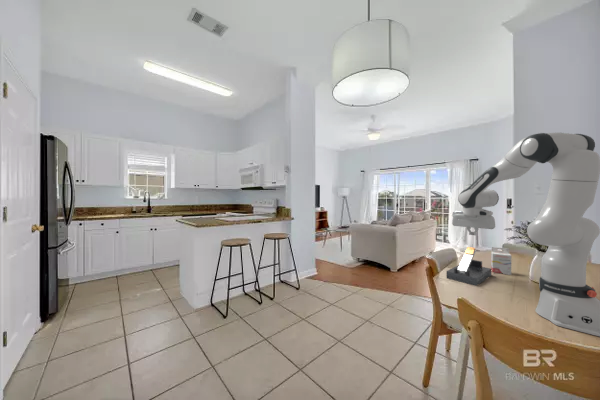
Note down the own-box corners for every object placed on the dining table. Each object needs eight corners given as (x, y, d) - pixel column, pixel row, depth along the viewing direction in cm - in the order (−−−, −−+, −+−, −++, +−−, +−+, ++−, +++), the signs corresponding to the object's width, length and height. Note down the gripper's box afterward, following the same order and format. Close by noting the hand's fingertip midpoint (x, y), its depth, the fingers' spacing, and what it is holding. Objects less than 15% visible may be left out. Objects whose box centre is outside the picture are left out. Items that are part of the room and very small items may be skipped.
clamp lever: (476, 250, 129) (475, 247, 128) (465, 275, 120) (465, 272, 119) (468, 248, 132) (467, 246, 132) (457, 273, 123) (456, 270, 123)
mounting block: (491, 275, 129) (491, 262, 129) (476, 285, 115) (476, 271, 115) (463, 269, 141) (463, 257, 140) (446, 278, 127) (446, 265, 127)
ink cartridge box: (492, 272, 133) (492, 248, 133) (491, 270, 138) (490, 246, 137) (511, 275, 129) (511, 250, 128) (509, 272, 133) (509, 248, 133)
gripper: (450, 211, 137) (450, 233, 137) (492, 213, 120) (492, 238, 120) (454, 210, 141) (454, 232, 141) (496, 212, 124) (496, 236, 124)
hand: (472, 235), depth 131 cm, fingers closed
